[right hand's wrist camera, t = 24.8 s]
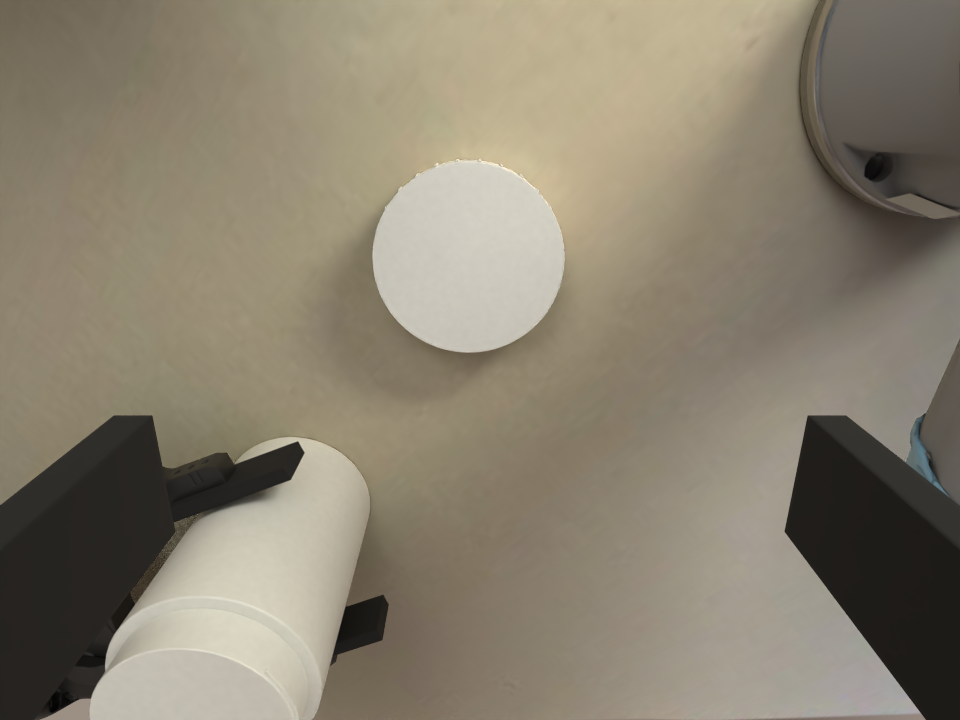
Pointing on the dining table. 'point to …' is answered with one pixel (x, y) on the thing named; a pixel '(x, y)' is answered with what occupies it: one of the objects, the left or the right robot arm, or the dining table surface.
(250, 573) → the jar
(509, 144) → the dining table surface
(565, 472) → the dining table surface
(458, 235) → the lid
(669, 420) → the dining table surface
